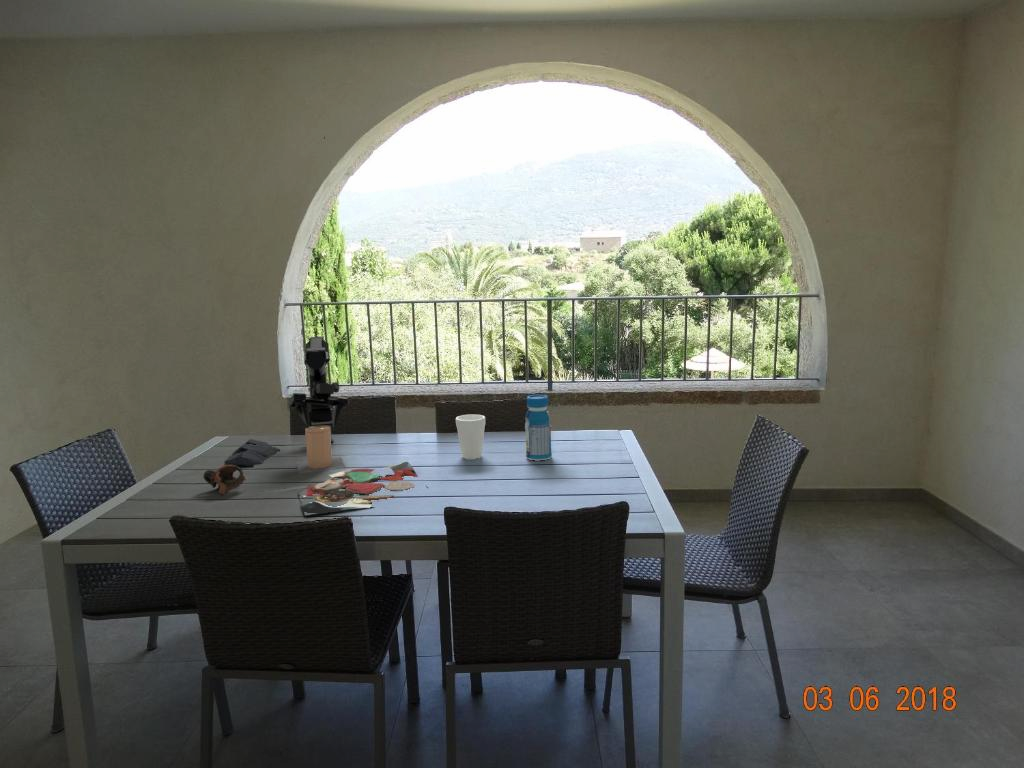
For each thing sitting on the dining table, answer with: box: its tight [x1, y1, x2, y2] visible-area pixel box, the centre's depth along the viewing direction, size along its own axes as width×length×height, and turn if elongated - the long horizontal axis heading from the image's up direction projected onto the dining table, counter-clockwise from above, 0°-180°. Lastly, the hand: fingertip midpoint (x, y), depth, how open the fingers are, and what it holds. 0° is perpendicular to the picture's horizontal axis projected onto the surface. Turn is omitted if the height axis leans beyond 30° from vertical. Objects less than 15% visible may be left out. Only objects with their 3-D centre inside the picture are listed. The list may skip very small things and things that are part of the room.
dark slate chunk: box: [224, 438, 281, 467], centre depth 246 cm, size 15×22×5 cm
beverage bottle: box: [524, 394, 553, 462], centre depth 233 cm, size 8×8×20 cm
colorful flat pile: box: [300, 461, 429, 515], centre depth 209 cm, size 35×35×2 cm
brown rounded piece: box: [203, 464, 247, 495], centre depth 212 cm, size 12×10×8 cm
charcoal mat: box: [296, 456, 346, 474], centre depth 233 cm, size 14×14×1 cm
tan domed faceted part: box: [304, 425, 333, 468], centre depth 232 cm, size 7×7×12 cm
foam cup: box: [455, 414, 486, 460], centre depth 238 cm, size 10×9×13 cm
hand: (320, 425), depth 240 cm, fingers open, 9 cm apart
